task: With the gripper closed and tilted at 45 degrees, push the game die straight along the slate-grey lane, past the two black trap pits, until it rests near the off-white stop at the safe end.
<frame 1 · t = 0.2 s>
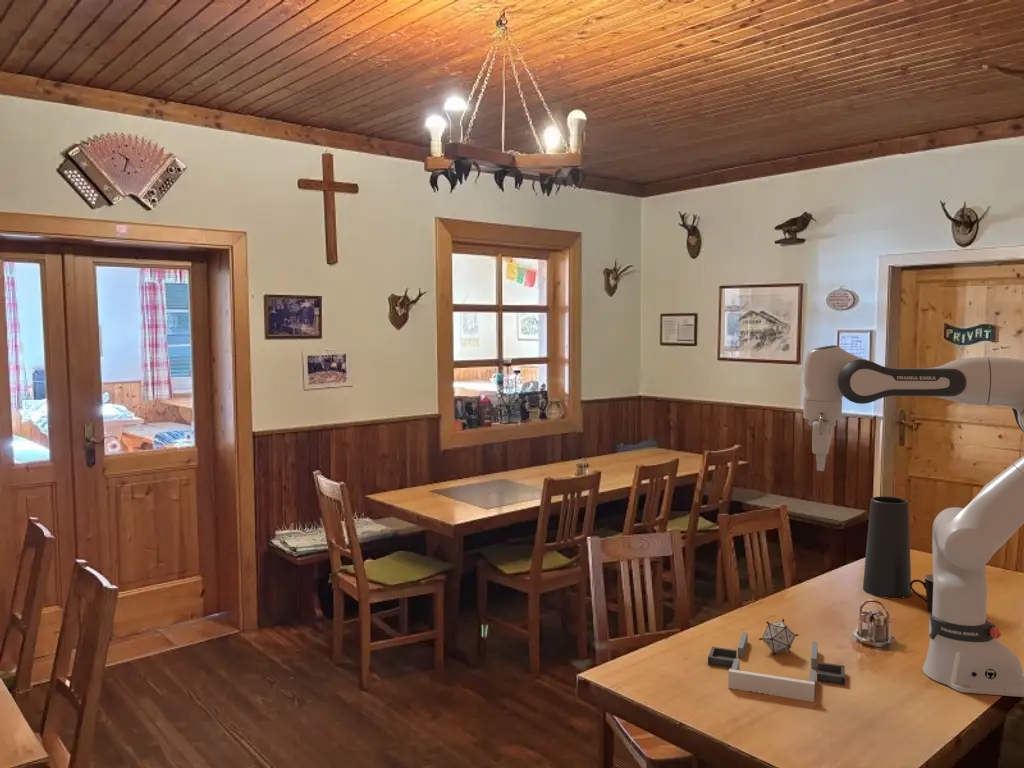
hand: (821, 467, 197), 48 cm above the table, tool pointing down, fingers open, 8 cm apart
vase: (886, 592, 249), on the table
trap lane: (775, 667, 194), on the table
coffee mug: (935, 612, 232), on the table
game die: (778, 653, 203), on the table
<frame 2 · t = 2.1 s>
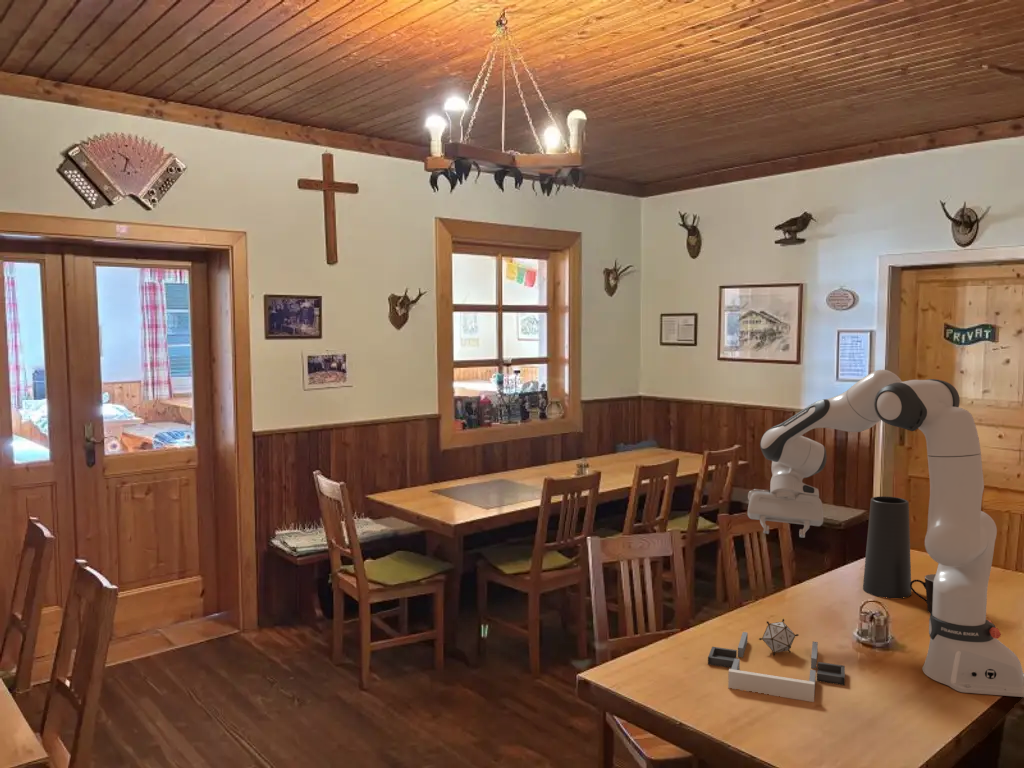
hand: (783, 534, 221), 25 cm above the table, tool tilted 45°, fingers open, 8 cm apart
nothing on the table moved.
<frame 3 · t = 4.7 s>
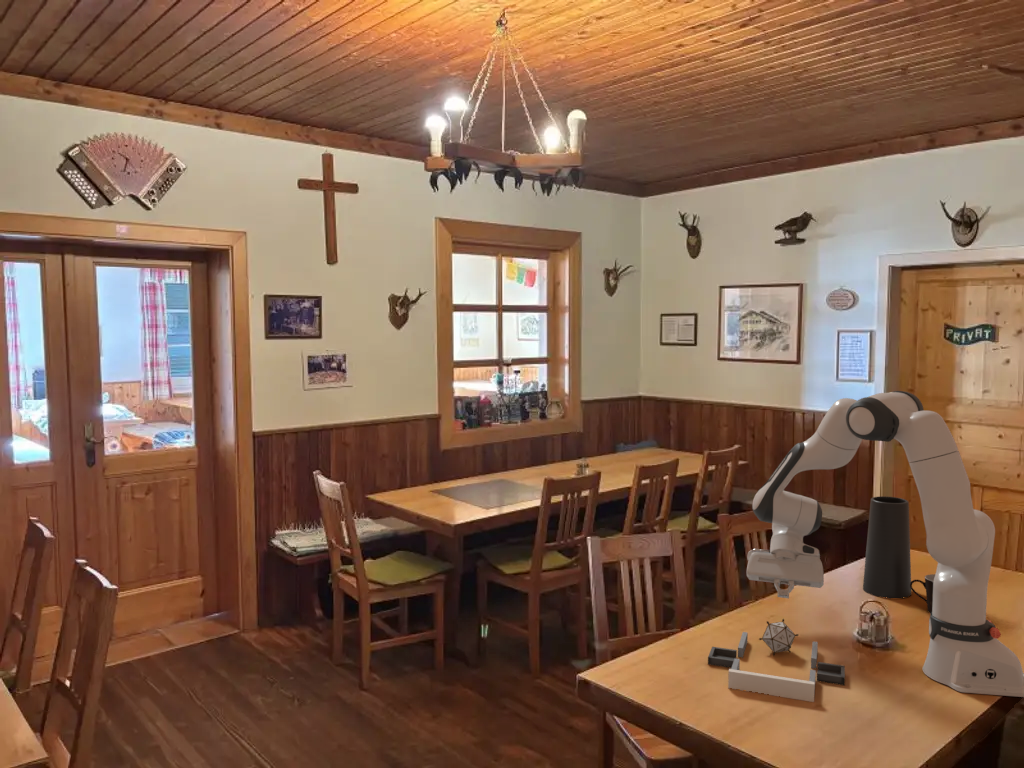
hand: (783, 596, 217), 9 cm above the table, tool tilted 45°, fingers closed
nothing on the table moved.
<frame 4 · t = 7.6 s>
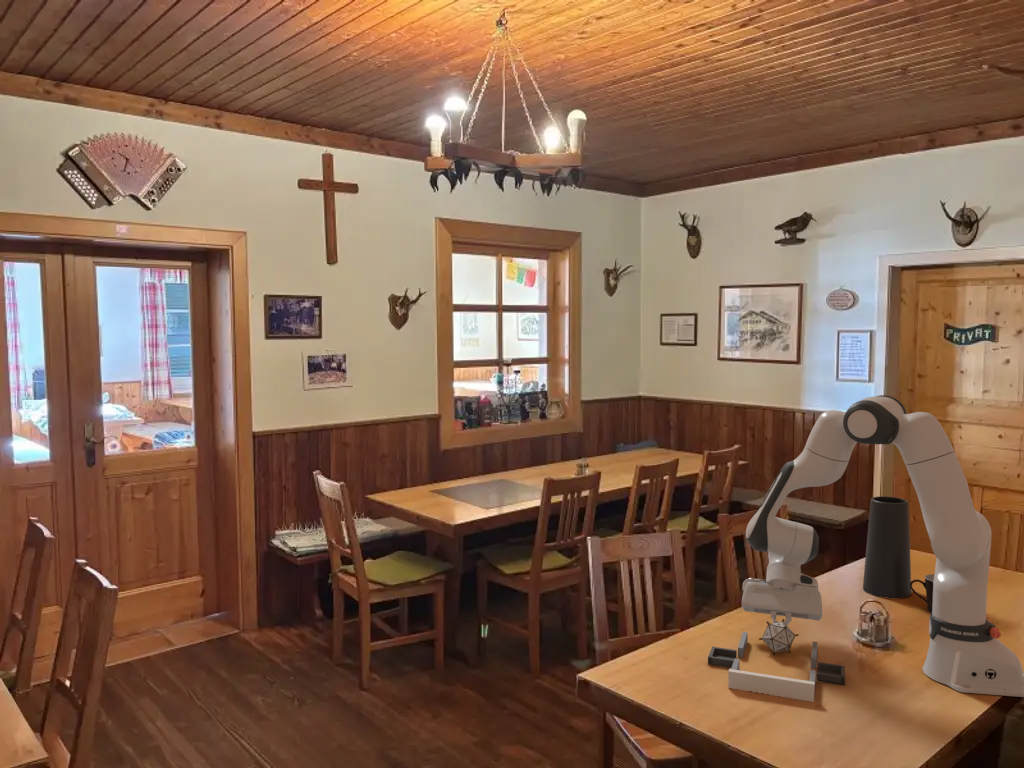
hand: (780, 630, 207), 4 cm above the table, tool tilted 45°, fingers closed
game die: (778, 653, 203), on the table, touching gripper
everything else where it was.
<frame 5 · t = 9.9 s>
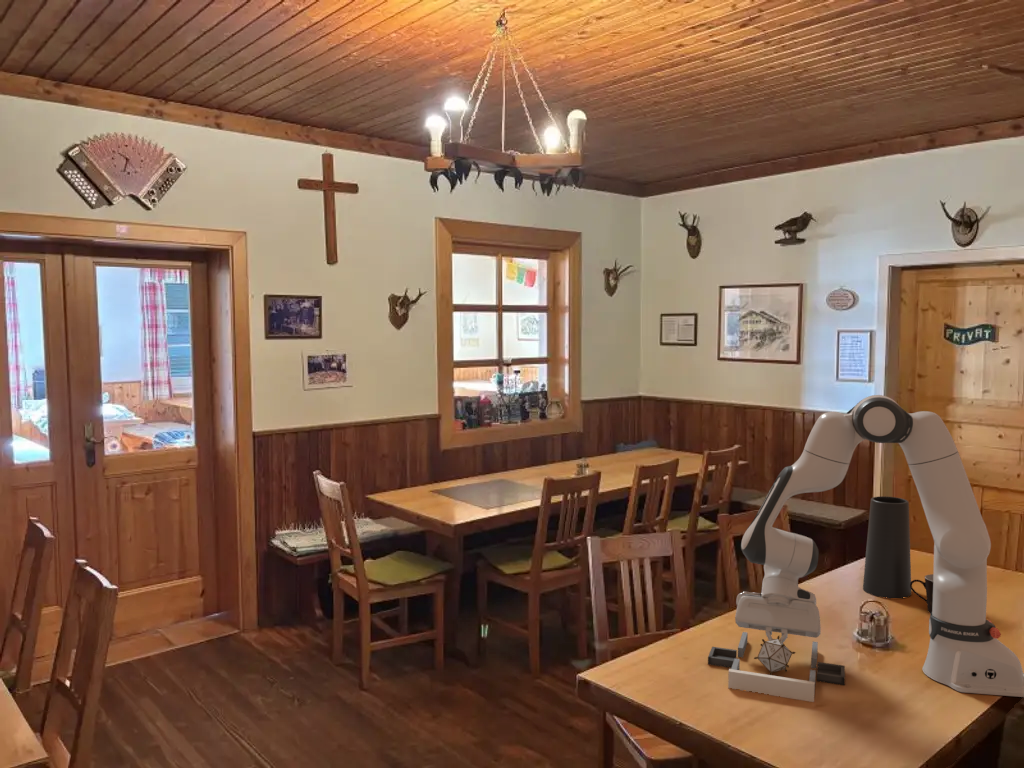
hand: (775, 647, 195), 4 cm above the table, tool tilted 45°, fingers closed, pressing on game die
game die: (774, 672, 192), on the table, touching gripper
everything else where it was.
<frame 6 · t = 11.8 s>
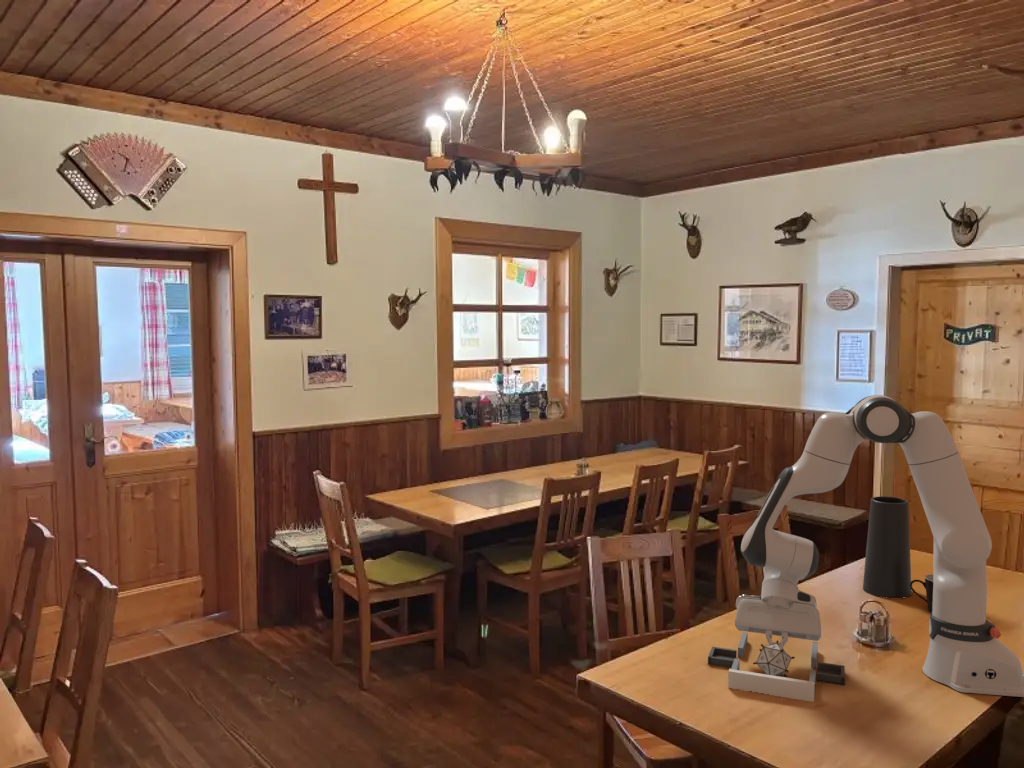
hand: (775, 651, 193), 5 cm above the table, tool tilted 45°, fingers closed
game die: (773, 677, 189), on the table
everything else where it was.
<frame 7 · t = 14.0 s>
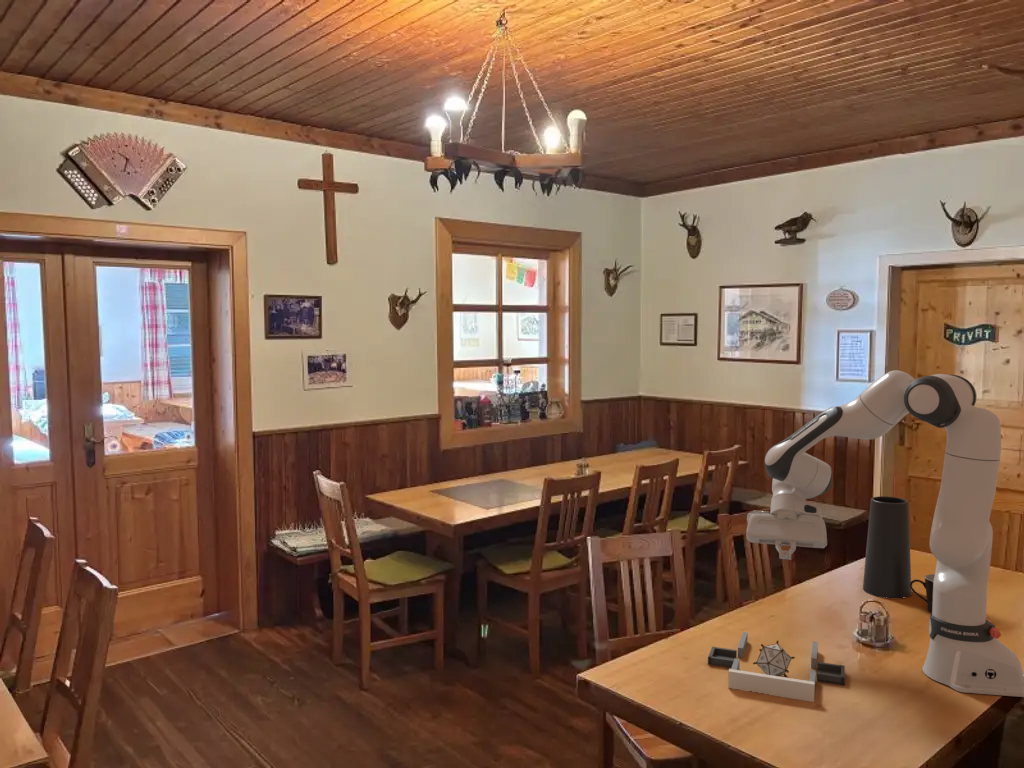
hand: (785, 558, 208), 23 cm above the table, tool tilted 45°, fingers closed
nothing on the table moved.
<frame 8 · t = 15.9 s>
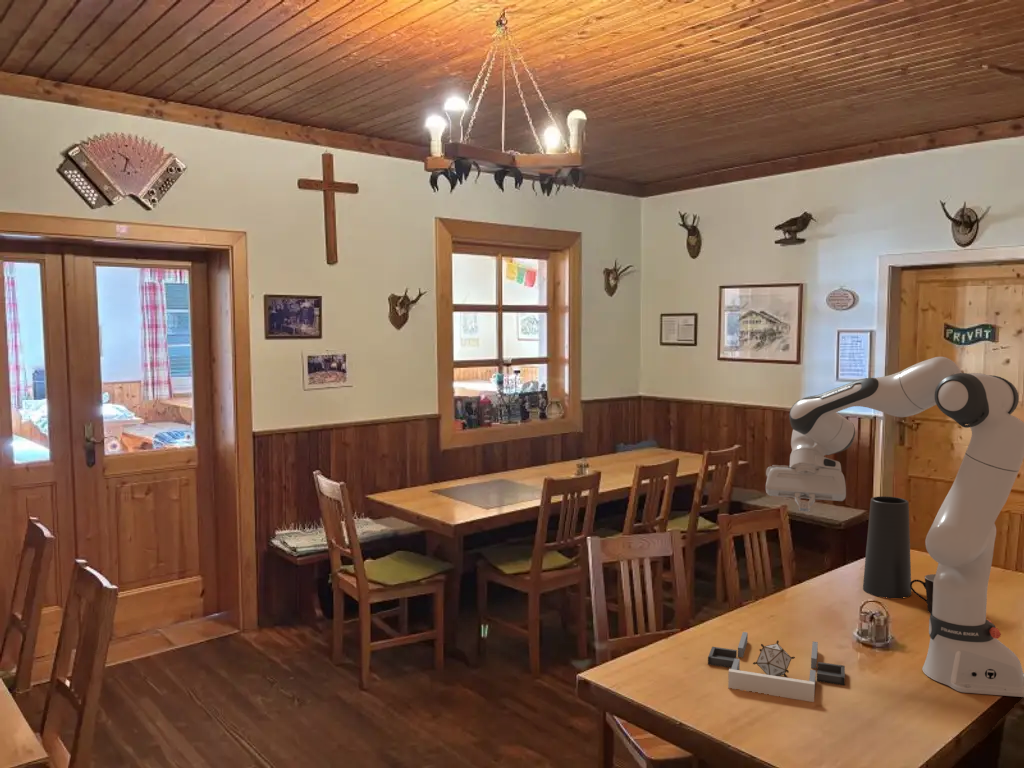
hand: (804, 510, 210), 34 cm above the table, tool tilted 45°, fingers closed
nothing on the table moved.
at the end: game die inside the target area (2.7 cm from its centre), on the table; game die tilted 0° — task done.
